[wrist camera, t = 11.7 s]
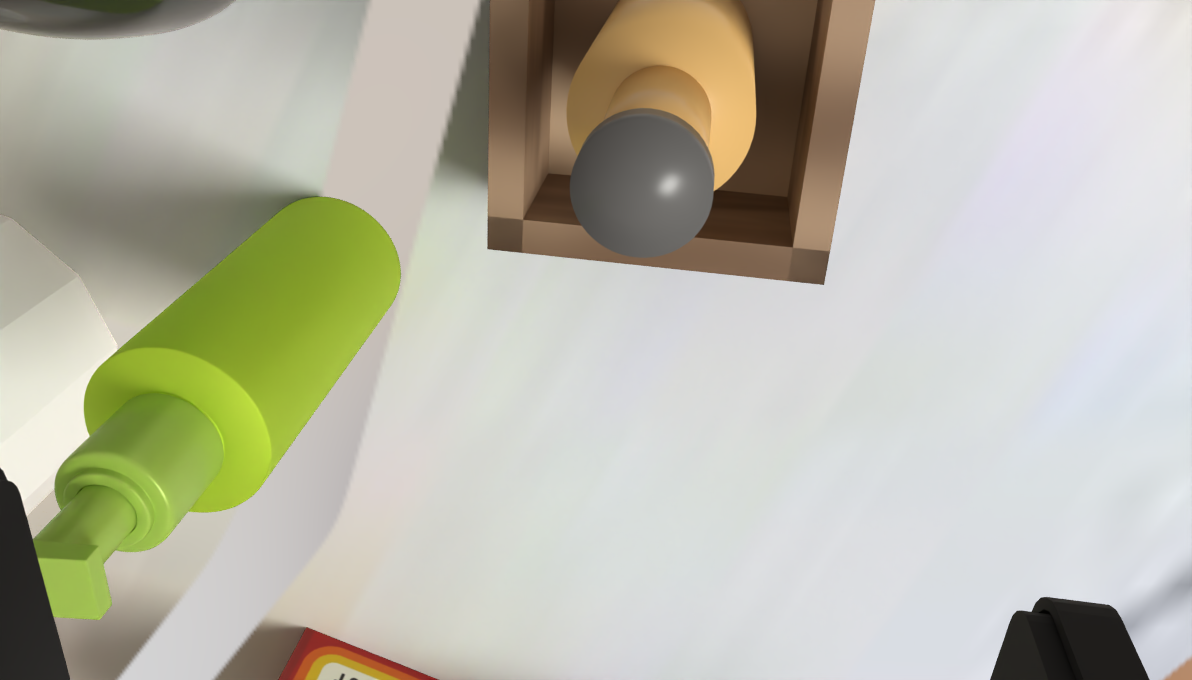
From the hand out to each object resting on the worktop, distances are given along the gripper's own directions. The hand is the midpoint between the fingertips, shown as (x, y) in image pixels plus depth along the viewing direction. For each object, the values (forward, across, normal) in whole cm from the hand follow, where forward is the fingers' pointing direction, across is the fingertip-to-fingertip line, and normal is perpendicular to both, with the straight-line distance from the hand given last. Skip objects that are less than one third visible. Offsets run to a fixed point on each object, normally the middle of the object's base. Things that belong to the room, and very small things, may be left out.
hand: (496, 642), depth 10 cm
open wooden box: (+30, 0, +1) cm, 30 cm away
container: (+30, +31, +17) cm, 46 cm away
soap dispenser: (+30, +14, +11) cm, 35 cm away
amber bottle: (+29, 0, +1) cm, 29 cm away
